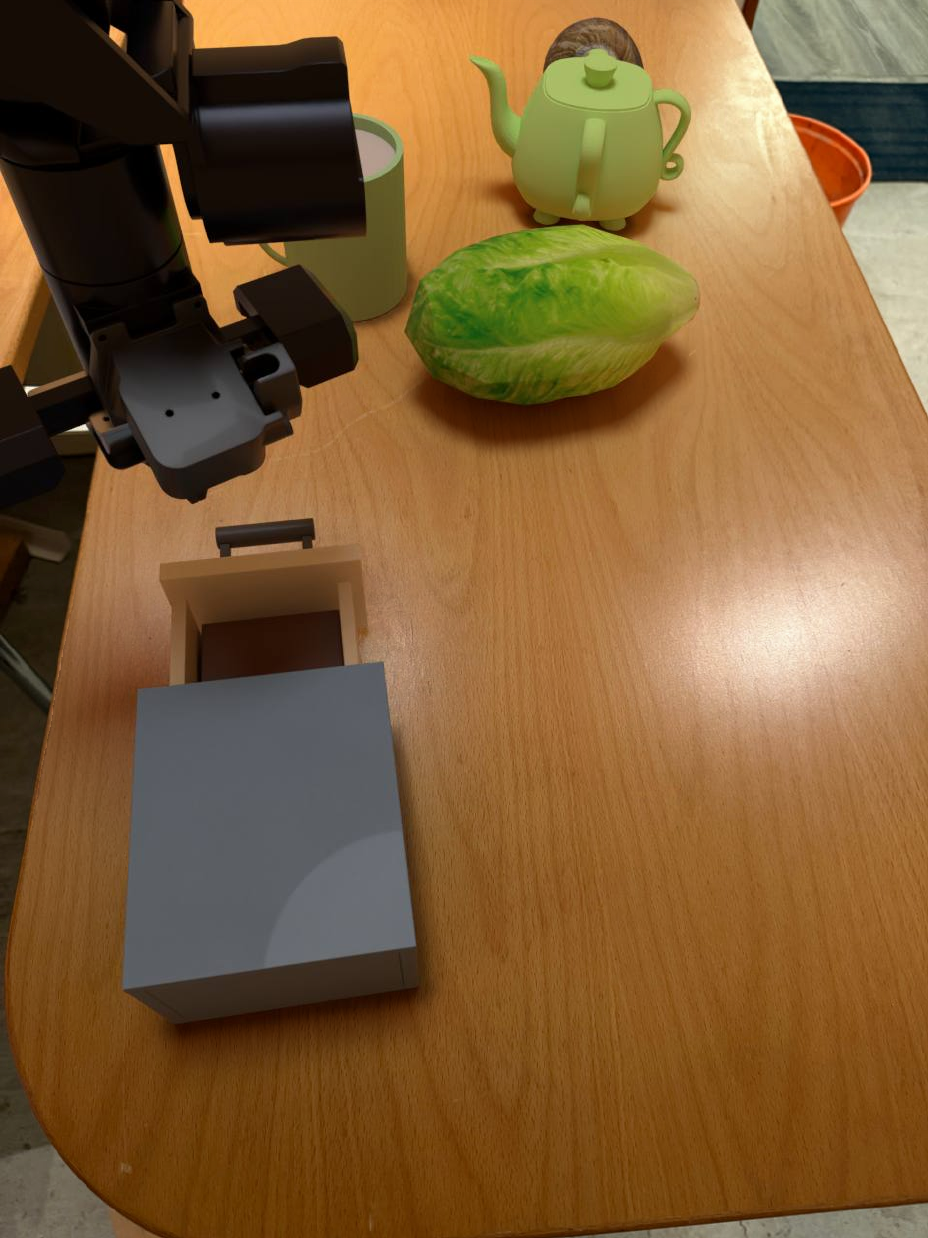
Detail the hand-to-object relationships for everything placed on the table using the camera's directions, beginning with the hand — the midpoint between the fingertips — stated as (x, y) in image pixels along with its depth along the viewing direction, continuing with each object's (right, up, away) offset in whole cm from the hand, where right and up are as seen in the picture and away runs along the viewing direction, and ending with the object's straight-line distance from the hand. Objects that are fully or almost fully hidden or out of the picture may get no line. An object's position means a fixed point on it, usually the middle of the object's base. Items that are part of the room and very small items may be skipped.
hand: (195, 496), depth 49 cm
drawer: (+3, -11, +6) cm, 13 cm away
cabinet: (+5, -21, +1) cm, 21 cm away
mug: (+3, +22, +29) cm, 37 cm away
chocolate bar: (+4, -10, +5) cm, 12 cm away
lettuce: (+21, +13, +23) cm, 34 cm away
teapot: (+25, +33, +37) cm, 55 cm away
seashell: (+28, +47, +46) cm, 72 cm away
